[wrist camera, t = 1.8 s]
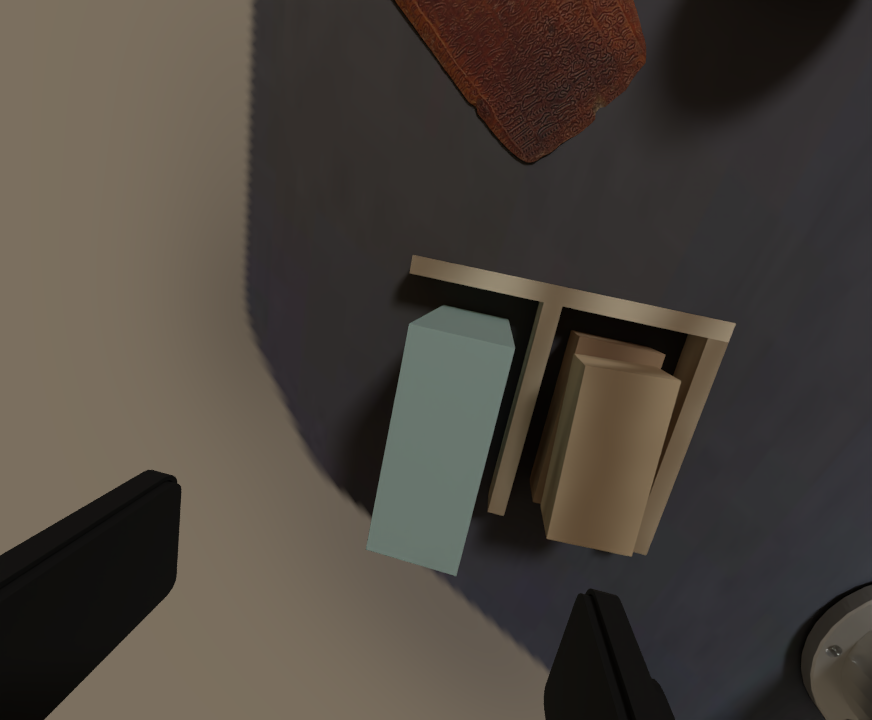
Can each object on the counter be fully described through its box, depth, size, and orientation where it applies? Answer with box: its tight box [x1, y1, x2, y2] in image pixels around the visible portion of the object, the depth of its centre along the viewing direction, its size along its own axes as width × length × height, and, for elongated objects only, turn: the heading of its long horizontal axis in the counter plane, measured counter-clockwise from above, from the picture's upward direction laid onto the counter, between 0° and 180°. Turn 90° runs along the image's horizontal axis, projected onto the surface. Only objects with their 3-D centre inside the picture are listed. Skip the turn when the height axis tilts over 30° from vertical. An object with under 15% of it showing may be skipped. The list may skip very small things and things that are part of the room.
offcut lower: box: [529, 330, 665, 504], centre depth 24 cm, size 4×10×3 cm, turn 169°
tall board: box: [366, 305, 515, 576], centre depth 21 cm, size 4×10×10 cm, turn 168°
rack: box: [410, 255, 736, 555], centre depth 24 cm, size 17×14×2 cm
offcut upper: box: [540, 354, 681, 557], centre depth 21 cm, size 4×9×3 cm, turn 172°
